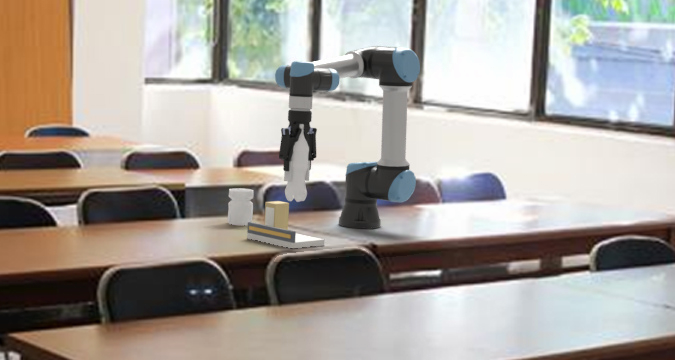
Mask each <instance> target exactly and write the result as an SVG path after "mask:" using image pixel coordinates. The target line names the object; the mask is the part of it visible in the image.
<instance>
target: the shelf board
mask: <svg viewBox="0 0 675 360" xmlns="http://www.w3.org/2000/svg"><path fill="white" fill-rule="evenodd" d="M246 230H247V235H246V239H248V240H251V239H252V240H251V241H255V240H258V241H257V242H259V241H261V243H264V242H266V243H265V244H268V243H270V245H273V244H274V246H277V245H278V246H277V247H281V246H283V248H286V247H288V248H287V249H290V248H298V249H303V248H302V247H307V248H311V247H310V246H316V247H322V246H325V239H324V238H320V237H315V236H309V235H305V234H301V233H297V232H296V231H293V230H289V229H288V230H285V229H281V228H276V227H271V226H267V225H264V224H262V223H256V222H253V221H252V222H248V225H247V229H246Z"/></svg>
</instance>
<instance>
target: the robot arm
mask: <svg viewBox="0 0 675 360" xmlns="http://www.w3.org/2000/svg"><path fill="white" fill-rule="evenodd" d="M420 70H421V64H420V59H419V57H418V55H417V54H416V52H415V51H414V50H412V49H411V48H407V47H402V46H381V45H374V46H367V47H363V48H358V49H354V50H350V51H347V52H346V53H345V54H344V55H339V56H336V57H335V56H334V57H331V58H324V59H319V60H316V61H315V60H314V61H302V60H301V61H299V60H294V61H292V62H291V64H286V65H285V64H284V65H279V66H278V67H277V69H275V73H274V78H275V83H276V85H278V87H280V88H283V89H284V88H285V89H289V94H288V95H289V97H288V108H289V110H288V112H287V113H288V114H287V121H288V122H289V123H288V126H287V127H281V129H280V131H281V133H280V134H281V138H280V147H279V153H278V159H280V160H281V161H283V167H282V169H283V172H284V174H283V175H284V176H283V177H284V178H283V181H284V182H292V161H290V160H291V157H292V154H293V148H294V145H295V142H297V141H298V139H299V136H300V134H301V132H302V129H301V128H300V124H304V129H303V130H304V137H305V139H306V141H307V144H308V146H309V154H308V169H307V171H306V175H305V182H309V181H310V171H311V168H312V161H314V160H315V159H316V158H317V137H316V136H317V131H318V129H317V128H316V127H311V125H310V123H311V122H312V118H313V116H312V115H313V113H312V111H311V110H312V109H313V95H314V92H332V91H335V90H336V89H337V88H338V87H339V85H340V82H341V81H340V79H344V78H351V79H358V78H361V79H362V78H363V79H373V80H378V87H380V89H381V90H382V112H381V113H382V117H381V118H382V119H381V148H380V151H381V152H380V159H379V160H378V161H361V162H349V163H348V165H347V166H346V170H345V171H346V172H345V186H344V187H345V188H344V189H345V190H344V204H343V207H342V210H341V213H340V216H339V217H338V225H339V226H341V227H346V228H351V229H376V228H377V229H378V228H381V226H382V225H381V222H382V221H381V218H380V215H379V210H378V200H381V201H387V202H391V203H405V202H406V201H408V200H409V199H410V198H411V196H412V195H413V193H414V192H415V189H416V184H417V178H416V175H415V173H414V172H413V171H412V170H411V169H410V162H409V161H407V159H406V153H407V152H406V150H407V128H408V127H407V126H408V125H407V124H408V123H407V120H408V98H409V97H408V93H409V90H411V88H412V87H413V82H415V81H416V80H418V78H419V77H418V76H419V75H420ZM292 137H293V138H292ZM287 156H288V157H287Z"/></svg>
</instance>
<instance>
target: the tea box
mask: <svg viewBox="0 0 675 360" xmlns="http://www.w3.org/2000/svg"><path fill="white" fill-rule="evenodd" d="M289 210H290V203H289V202H286V201H281V200H274V201H265V205H264V224H263V225H267V226H271V227H276V228H281V229H285V230H289V213H290V211H289Z"/></svg>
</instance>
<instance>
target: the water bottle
mask: <svg viewBox="0 0 675 360" xmlns="http://www.w3.org/2000/svg"><path fill="white" fill-rule="evenodd" d="M300 128H301V129H302V132H301V134H300V136H299V139H298V141H297V142H295V145H294V148H293V154H292V157H291V160H290V161H292V182H288V181H286V187H285V189H284V194H285V198H286V200H287V201H288V202H292V201H293V200H295V201H296V202H297V203H299V202H304V201H305V200H306V198H307V195H308V191H307V187H306V181H305V175H306V171H307V169H308V154H309V146H308V144H307V141H306V139H305V137H304V130H303V129H304V124H300ZM292 138H293V137H292ZM287 157H288V156H287Z"/></svg>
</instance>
